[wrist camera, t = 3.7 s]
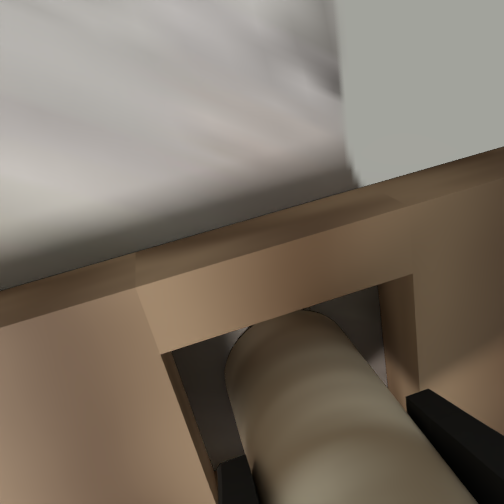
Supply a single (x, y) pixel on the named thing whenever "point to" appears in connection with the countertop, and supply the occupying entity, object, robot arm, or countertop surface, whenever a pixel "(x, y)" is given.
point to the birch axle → (327, 422)
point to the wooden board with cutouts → (239, 316)
